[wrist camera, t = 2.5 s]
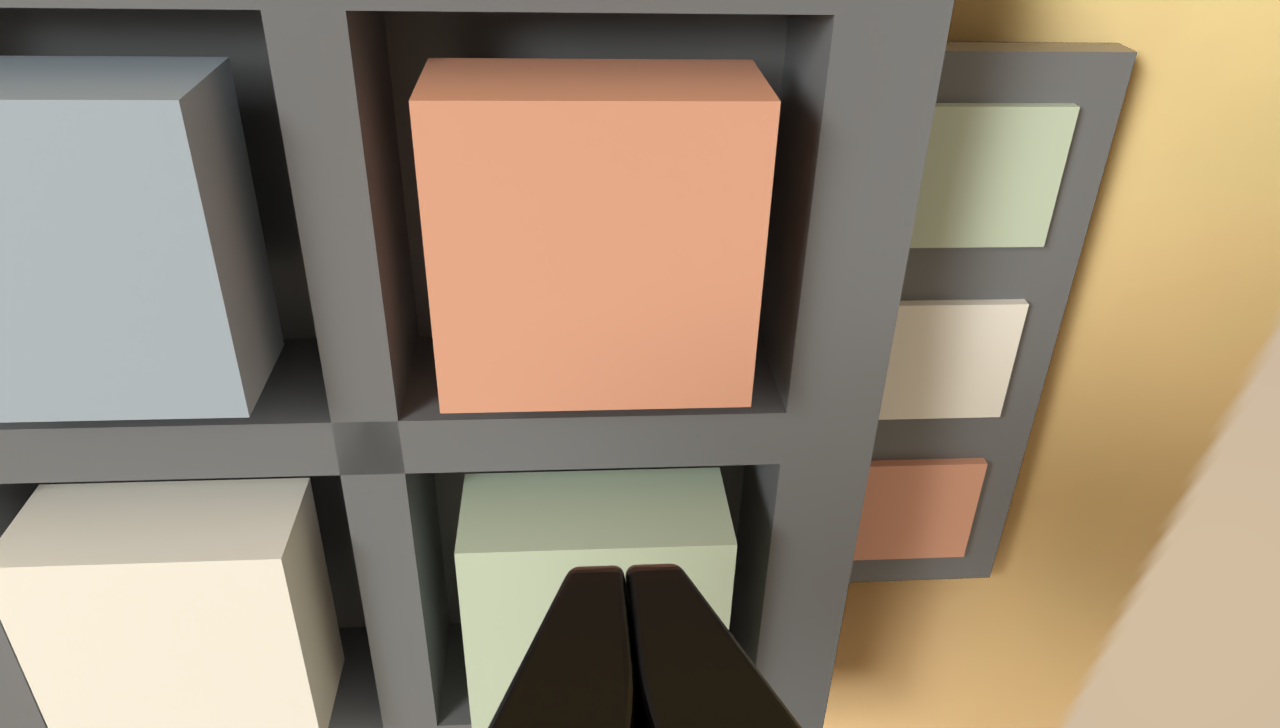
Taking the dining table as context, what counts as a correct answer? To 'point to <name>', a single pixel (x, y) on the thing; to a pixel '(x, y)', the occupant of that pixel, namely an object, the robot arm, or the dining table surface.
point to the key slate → (129, 243)
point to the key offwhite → (173, 605)
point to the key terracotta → (594, 230)
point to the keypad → (638, 438)
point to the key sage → (575, 552)
